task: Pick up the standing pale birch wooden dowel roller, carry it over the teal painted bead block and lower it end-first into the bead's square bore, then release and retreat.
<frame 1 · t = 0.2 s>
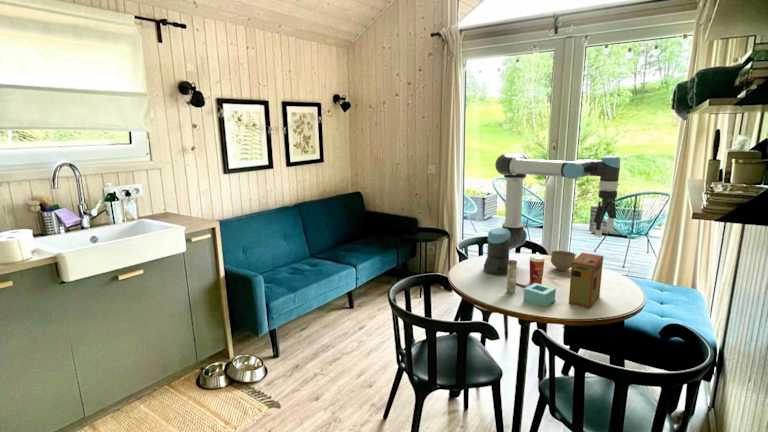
hand: (603, 233, 194), 28 cm above the table, fingers open, 13 cm apart
paper cup: (535, 283, 208), on the table
box: (584, 300, 187), on the table
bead: (539, 300, 187), on the table
wooden dowel roller: (510, 292, 197), on the table
bowl: (562, 269, 227), on the table
brown wooden stick: (517, 285, 206), on the table
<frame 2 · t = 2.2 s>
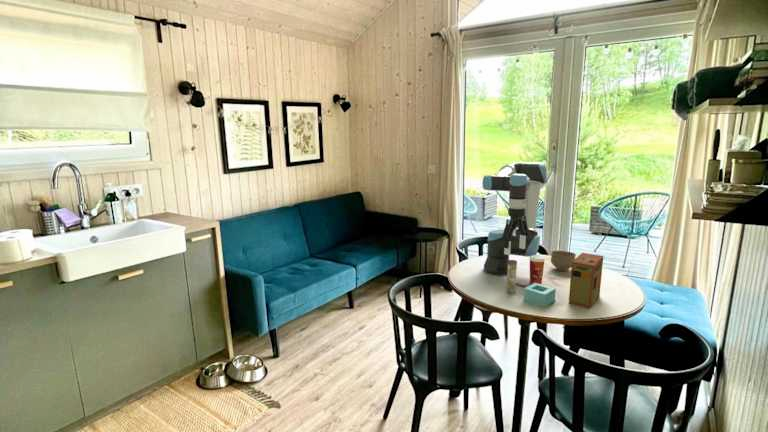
hand: (514, 251, 192), 21 cm above the table, fingers open, 13 cm apart
nothing on the table moved.
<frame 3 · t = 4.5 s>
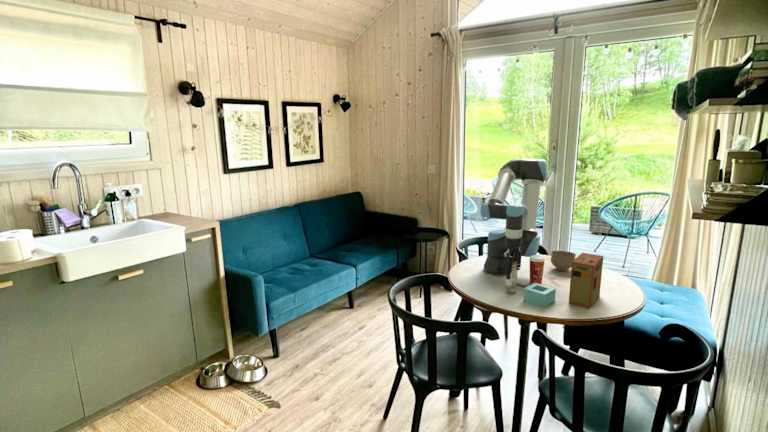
hand: (511, 283, 196), 5 cm above the table, fingers closed on wooden dowel roller, 4 cm apart
wooden dowel roller: (510, 292, 197), on the table, touching gripper
everything else where it was.
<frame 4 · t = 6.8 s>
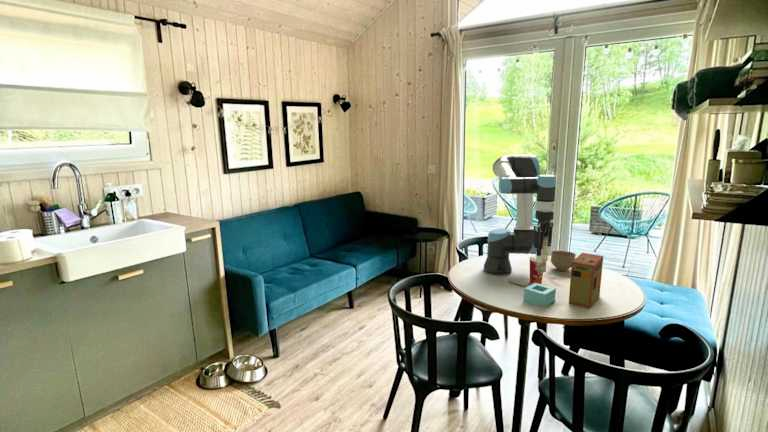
hand: (541, 261, 183), 19 cm above the table, fingers closed on wooden dowel roller, 4 cm apart
wooden dowel roller: (541, 270, 184), point 15 cm above the table, touching gripper
everything else where it was.
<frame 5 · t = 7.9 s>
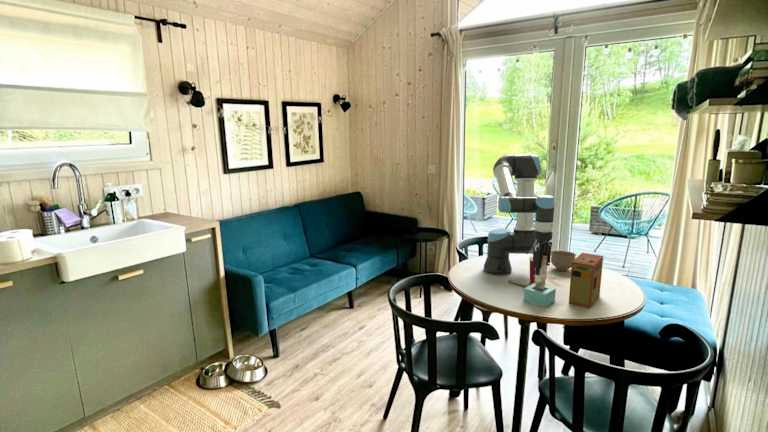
hand: (540, 280, 185), 10 cm above the table, fingers closed on wooden dowel roller, 4 cm apart
wooden dowel roller: (539, 289, 186), point 5 cm above the table, touching gripper
everything else where it was.
when the fingers open (8 cm above the table, at t = 9.0 s): wooden dowel roller drops 2 cm, resting in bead.
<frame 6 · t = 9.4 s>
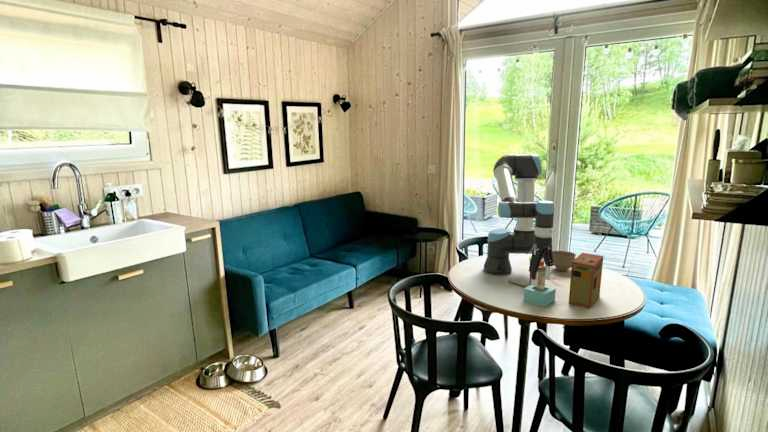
hand: (540, 282, 185), 9 cm above the table, fingers open, 10 cm apart
wooden dowel roller: (539, 300, 187), resting in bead
everything else where it was.
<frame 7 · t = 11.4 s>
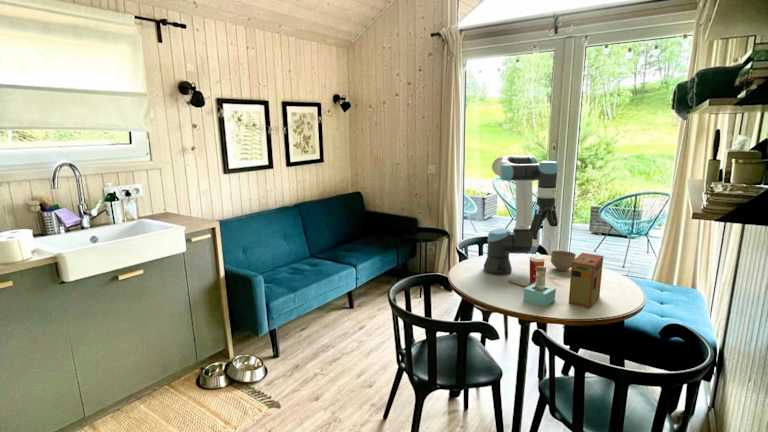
hand: (543, 243, 183), 27 cm above the table, fingers open, 13 cm apart
nothing on the table moved.
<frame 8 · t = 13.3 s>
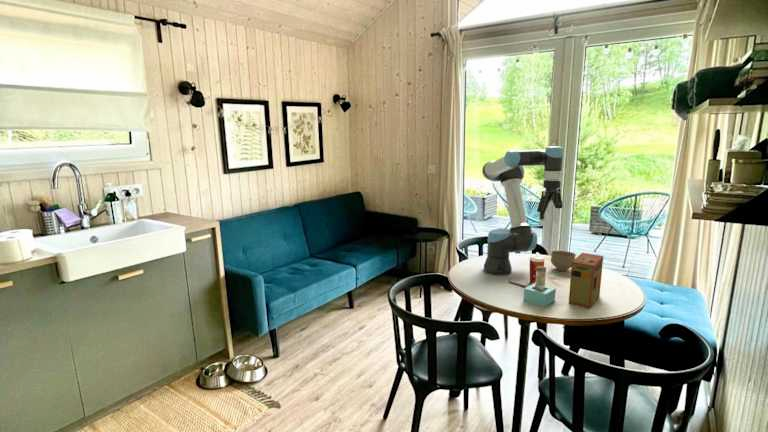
hand: (549, 223, 196), 33 cm above the table, fingers open, 13 cm apart
nothing on the table moved.
at the end: wooden dowel roller 0.0 cm off-centre on the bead, point 0.0 cm above the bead's base; wooden dowel roller tilted 0°; the gripper is holding nothing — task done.
